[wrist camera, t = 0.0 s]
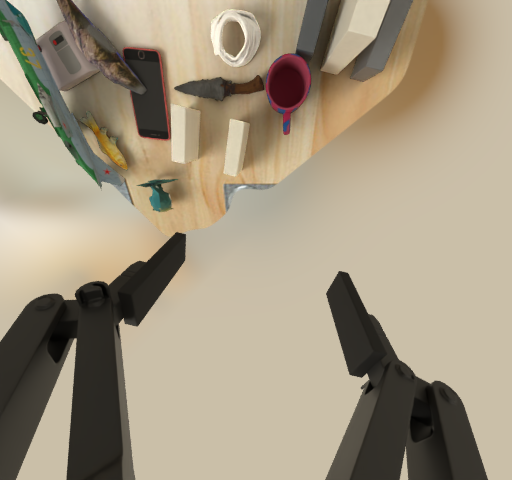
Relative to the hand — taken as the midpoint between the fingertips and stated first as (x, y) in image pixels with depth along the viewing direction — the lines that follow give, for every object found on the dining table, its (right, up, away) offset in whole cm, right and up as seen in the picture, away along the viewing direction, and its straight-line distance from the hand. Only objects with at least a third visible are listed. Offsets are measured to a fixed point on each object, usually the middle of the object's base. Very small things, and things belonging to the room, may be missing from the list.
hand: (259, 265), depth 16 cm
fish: (-30, +24, +24) cm, 45 cm away
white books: (-8, +23, +23) cm, 34 cm away
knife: (-7, +30, +19) cm, 36 cm away
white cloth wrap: (-3, +35, +16) cm, 39 cm away
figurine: (-25, +16, +27) cm, 40 cm away
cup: (+5, +28, +19) cm, 34 cm away
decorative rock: (-25, +36, +16) cm, 47 cm away
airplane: (-40, +25, +16) cm, 50 cm away
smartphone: (-21, +30, +21) cm, 42 cm away
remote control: (-36, +35, +19) cm, 54 cm away
